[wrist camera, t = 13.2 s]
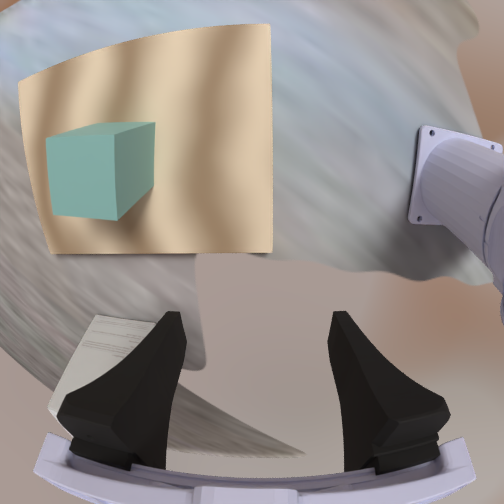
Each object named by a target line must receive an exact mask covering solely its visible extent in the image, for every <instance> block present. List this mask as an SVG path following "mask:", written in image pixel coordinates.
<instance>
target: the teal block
mask: <svg viewBox="0 0 504 504" xmlns="http://www.w3.org/2000/svg"><path fill="white" fill-rule="evenodd" d="M155 124H156V122H111V123H96V124H92V125H88V126H85V127H81V128H77V129H74V130H71V131H67V132H64V133H61V134H57V135H54V136H51V137H48V138H46V155H47V168H48V179H49V188H50V196H51V204H52V211H53V215H60V216H71V217H82V218H93V219H104V220H114V221H118V220H119V219H120V218H121V217H122V216H123V215H124V214H125V213H126V212H127V211H128V210H129V209H130V208H131V207H132V206H133V205H134V204H135V203H136V202H137V201H138V200H139V199H140V198H141V197H143V196H144V195H145V194H146V193H147V192H148V191H149V190H150V189H151V188H152V187H153V186H154V148H155Z"/></svg>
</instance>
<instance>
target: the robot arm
mask: <svg viewBox="0 0 504 504" xmlns="http://www.w3.org/2000/svg"><path fill="white" fill-rule="evenodd" d="M431 130H432V135H431V136H430V133H429V132H430V131H431ZM491 145H492V148H491ZM502 150H503V148H502V145H501V144H498V143H495V142H492V141H489V140H485V139H482V138H478V137H474V136H471V135H467V134H463V133H459V132H454V131H450V130H446V129H441V128H436V127H431V126H426V125H423V126H421V128H420V130H419V141H418V151H417V160H416V169H415V176H414V183H413V190H412V196H411V202H410V208H409V214H408V220H409V222H410V223H411V224H425V225H444V226H445V227H447V228H448V229H449V230H450V231H451V232H452V233H453V234H454V235H455V236H456V237H457V238H459V239H460V240H461V241H462V242H463V243H464V244H465V245H466V246H467V247H468V248H469V249H470V250H471V251H472V252H473V253H474V254H475V255H476V256H477V257H478V258H479V259H480V260H481V261H482V262H483V263H484V264H485V265H486V266H487V267H488V268H489V269H490V271H491V272H492V274H493V277H494V281H493V284H494V285H495V287H496V288H497V289H498V290H499V291H500V292H501V294H502V295H503V297H502V300H501V306H500V313H501V319H502V323H503V325H504V154H502ZM419 216H420V219H419V220H417V218H418V217H419ZM186 343H187V340H186V336H185V332H184V328H183V324H182V320H181V315H180V312H174V311H167V312H166V313H165V315H164V316H163V317H162V318H161V319H160V321H159V322H158V323H157V324H156V325H155V326H154V328H153V329H152V330H151V331H150V332H149V333H148V335H147V336H146V337H145V338H144V339H143V340H142V341H141V342H140V343H139V344H138V345H137V346H136V347H135V348H134V349H133V350H132V351H131V352H130V353H129V354H128V355H127V356H126V357H125V358H124V359H123V360H122V361H120V362H119V363H118V364H117V365H116V366H114V367H113V368H111V369H110V370H109V371H107V372H106V373H104V374H103V375H102V376H100V377H99V378H97V379H95V380H94V381H92V382H90V383H88V384H87V385H85V386H83V387H81V388H79V389H77V390H75V391H72V392H70V393H68V394H66V396H65V398H64V400H63V402H62V404H61V406H60V408H59V411H58V413H57V416H56V417H57V419H58V421H59V422H60V424H61V425H62V426H63V427H64V428H65V429H66V430H67V431H68V432H69V433H70V434H71V435H72V436H73V439H72V442H71V441H70V440H68V439H66V438H64V437H61V436H58V435H56V434H53V433H51V432H48V434H47V436H46V439H45V441H44V443H43V446H42V448H41V451H40V454H39V456H38V459H37V462H36V465H35V467H34V470H33V471H34V473H35V474H37V475H38V476H40V477H42V478H43V479H45V480H46V481H48V482H49V483H51V484H53V485H54V486H56V487H58V488H59V489H61V490H63V491H66V492H68V493H70V494H72V495H75V496H77V497H80V498H82V499H84V500H87V501H89V502H92V503H95V504H429V503H432V502H434V501H436V500H439V499H442V498H444V497H446V496H449V495H451V494H452V493H454V492H456V491H458V490H459V489H461V488H463V487H464V486H466V485H468V484H469V483H471V482H472V481H474V480H475V479H476V475H475V472H474V468H473V465H472V462H471V459H470V455H469V452H468V450H467V446H466V444H465V440H464V438H463V437H460V438H457V439H454V440H452V441H449V442H446V443H444V444H442V445H440V446H438V445H437V441H438V440H439V436H438V433H437V432H438V431H439V430H440V429H441V428H442V427H443V426H444V425H445V424H446V423H447V421H448V420H449V418H450V415H451V414H450V412H449V409H448V406H447V404H446V402H445V400H444V398H443V397H442V396H440V395H438V394H436V393H433V392H432V391H430V390H428V389H426V388H424V387H423V386H421V385H420V384H418V383H416V382H415V381H413V380H412V379H410V378H409V377H408V376H406V375H405V374H404V373H402V372H401V371H400V370H399V369H397V368H396V367H395V366H394V365H393V364H392V363H390V362H389V361H388V360H387V359H386V358H385V357H384V356H383V355H382V354H381V353H380V352H379V351H378V350H377V349H376V347H375V346H374V345H373V344H372V343H371V342H370V341H369V340H368V338H367V337H366V336H365V335H364V333H363V332H362V331H361V330H360V329H359V327H358V326H357V325H356V323H355V322H354V321H353V319H352V318H351V317H350V315H349V314H348V313H347V312H346V311H334V312H333V317H332V322H331V327H330V332H329V337H328V350H329V358H330V363H331V367H332V371H333V375H334V379H335V383H336V388H337V392H338V395H339V401H340V406H341V416H342V426H343V438H344V439H343V440H344V472H343V473H336V474H328V475H318V476H307V477H291V478H234V477H218V476H206V475H197V474H189V473H181V472H174V471H168V470H166V449H167V437H168V428H169V420H170V413H171V406H172V401H173V397H174V393H175V390H176V386H177V383H178V379H179V375H180V372H181V369H182V365H183V362H184V357H185V350H186Z"/></svg>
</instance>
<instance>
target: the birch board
mask: <svg viewBox="0 0 504 504" xmlns="http://www.w3.org/2000/svg"><path fill="white" fill-rule="evenodd" d="M18 89H19V105H20V117H21V126H22V134H23V142H24V148H25V155H26V160H27V166H28V171H29V176H30V181H31V186H32V190H33V194H34V198H35V202H36V206H37V210H38V214H39V218H40V221H41V225H42V228H43V231H44V235H45V238H46V241H47V244H48V247H49V250H50V253H51V254H153V253H272V249H273V134H272V73H271V36H270V24H241V25H225V26H213V27H203V28H195V29H187V30H181V31H174V32H168V33H163V34H158V35H153V36H148V37H143V38H139V39H135V40H130V41H127V42H123V43H119V44H115V45H112V46H108V47H105V48H102V49H98V50H95V51H92V52H89V53H86V54H83V55H80V56H78V57H75V58H72V59H69V60H67V61H64V62H62V63H59V64H57V65H54V66H52V67H50V68H47V69H45V70H43V71H40V72H38V73H36V74H34V75H32V76H30V77H28V78H25V79H23V80H21V81H19V82H18ZM111 122H156V124H155V148H154V186H153V187H152V188H151V189H150V190H149V191H148V192H147V193H146V194H145V195H144V196H143V197H141V198H140V199H139V200H138V201H137V202H136V203H135V204H134V205H133V206H132V207H131V208H130V209H129V210H128V211H127V212H126V213H125V214H124V215H123V216H122V217H121V218H120V219H119V220H118V221H114V220H104V219H93V218H82V217H71V216H60V215H53V211H52V204H51V196H50V188H49V179H48V168H47V155H46V138H48V137H51V136H54V135H57V134H61V133H64V132H67V131H71V130H74V129H77V128H81V127H85V126H88V125H92V124H96V123H111Z"/></svg>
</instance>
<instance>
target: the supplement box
mask: <svg viewBox="0 0 504 504" xmlns="http://www.w3.org/2000/svg"><path fill="white" fill-rule="evenodd" d="M155 325H156V323H152V322H143V321H136V320H129V319H122V318H115V317H109V316H102V315H95V317H94V319H93V320H92V322H91V324H90V326H89V327H88V329H87V331H86V333H85V334H84V336H83V338H82V340H81V341H80V343H79V345H78V347H77V349H76V350H75V352H74V354H73V356H72V358H71V360H70V362H69V363H68V365H67V367H66V369H65V371H64V373H63V375H62V377H61V379H60V381H59V383H58V385H57V387H56V389H55V391H54V393H53V395H52V398H51V399H50V402H49V404H48V406H47V408H48V409H49V411H50V412H51V414H52V415H53V416H54V417H55V419H56V420H57V421H58V419H57V417H56V416H57V413H58V411H59V408H60V406H61V404H62V402H63V400H64V398H65V396H66V394H68V393H70V392H72V391H75V390H77V389H79V388H81V387H83V386H85V385H87V384H88V383H90V382H92V381H94V380H95V379H97V378H99V377H100V376H102V375H103V374H104V373H106V372H107V371H109V370H110V369H111V368H113V367H114V366H116V365H117V364H118V363H119V362H120V361H122V360H123V359H124V358H125V357H126V356H127V355H128V354H129V353H130V352H131V351H132V350H133V349H134V348H135V347H136V346H137V345H138V344H139V343H140V342H141V341H142V340H143V339H144V338H145V337H146V336H147V335H148V333H149V332H150V331H151V330H152V329H153V328H154V326H155ZM58 422H59V421H58ZM59 423H60V422H59ZM63 428H64V427H63ZM64 429H65V428H64ZM65 430H66V429H65ZM66 431H67V430H66ZM67 432H68V431H67ZM68 433H69V432H68ZM69 434H70V433H69ZM70 435H71V434H70ZM71 436H72V435H71ZM72 437H73V436H72Z"/></svg>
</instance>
